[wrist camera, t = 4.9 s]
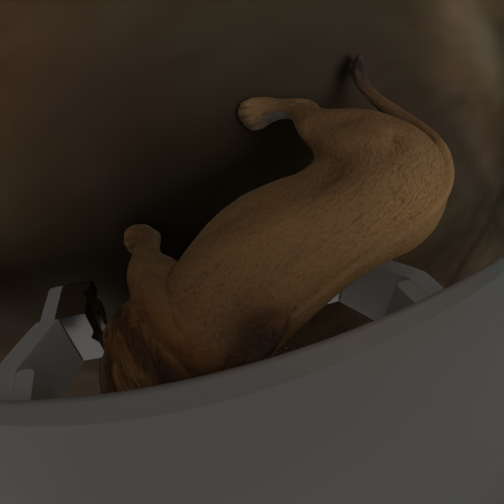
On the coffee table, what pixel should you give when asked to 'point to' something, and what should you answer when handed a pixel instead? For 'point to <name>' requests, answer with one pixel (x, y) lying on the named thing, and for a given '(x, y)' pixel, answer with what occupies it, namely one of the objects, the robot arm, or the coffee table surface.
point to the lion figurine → (279, 243)
